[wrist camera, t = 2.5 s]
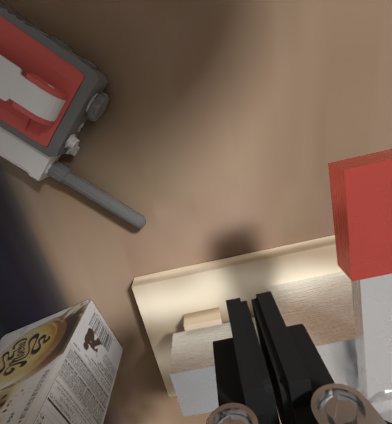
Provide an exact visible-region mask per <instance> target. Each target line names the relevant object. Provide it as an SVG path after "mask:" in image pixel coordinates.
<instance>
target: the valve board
mask: <svg viewBox="0 0 392 424" xmlns="http://www.w3.org/2000/svg"><path fill="white" fill-rule="evenodd" d="M341 271H342V269H341V268H340V267H339V266H338V264H337V253H336V242H335V235H333V236H328V237H324V238H319V239H314V240H309V241H305V242H300V243H295V244H290V245H286V246H281V247H276V248H272V249H267V250H262V251H257V252H253V253H248V254H243V255H238V256H234V257H229V258H224V259H219V260H215V261H210V262H205V263H200V264H196V265H191V266H186V267H182V268H177V269H172V270H167V271H163V272H158V273H153V274H148V275H144V276H139V277H135V278H134V281H133V284H132V290H133V293H134V296H135V299H136V302H137V305H138V308H139V311H140V314H141V316H142V319H143V322H144V325H145V328H146V331H147V334H148V337H149V340H150V343H151V346H152V349H153V352H154V355H155V358H156V361H157V364H158V367H159V369H160V372H161V375H162V378H163V381H164V384H165V387H166V390H167V393H168V396H169V397H170V396H175V395H176V392H175V389H174V386H173V383H172V380H171V377H170V364H171V351H172V338H173V334H174V333H179V332H184V331H189V330H194V329H199V328H204V327H209V326H214V325H219V324H224V323H229V322H230V321H229V315H228V310H227V305H226V300H231V299H235V298H240V299H241V301H246V300H247V303H248V307H249V310H250V313H251V317H252V318H254V312H253V307H252V302H251V299H255V298H256V294H260V293H264V292H266V289H265V287H268V286H273V285H278V284H283V283H287V282H292V281H297V280H302V279H307V278H312V277H317V276H322V275H327V274H331V273H336V272H341Z"/></svg>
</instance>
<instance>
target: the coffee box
mask: <svg viewBox="0 0 392 424" xmlns="http://www.w3.org/2000/svg"><path fill="white" fill-rule="evenodd" d="M122 352H123V348H122V347H121V345H120V344H119V342H118V340H117V339H116V337H115V336H114V334H113V333H112V331H111V330H110V328H109V327H108V325H107V323H106V322H105V320H104V319H103V317H102V316H101V314H100V313H99V311H98V310H97V308H96V307H95V305H94V303H93V302H92V301H91V300H86V301H84V302H82V303H79V304H77V305H74V306H72V307H70V308H67V309H65V310H62V311H60V312H58V313H56V314H53V315H51V316H48V317H46V318H44V319H41V320H39V321H37V322H34V323H32V324H30V325H27V326H25V327H22V328H20V329H18V330H15V331H13V332H11V333H8V334H6V335H4V336H3V337H2V339H1V340H0V424H103V423H104V419H105V415H106V411H107V408H108V404H109V400H110V396H111V393H112V389H113V386H114V382H115V378H116V374H117V371H118V367H119V363H120V360H121V356H122Z"/></svg>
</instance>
